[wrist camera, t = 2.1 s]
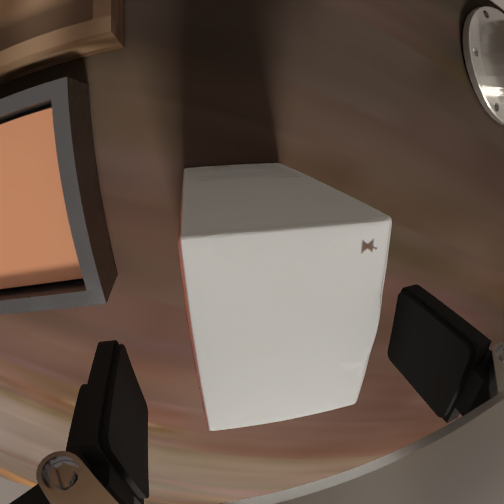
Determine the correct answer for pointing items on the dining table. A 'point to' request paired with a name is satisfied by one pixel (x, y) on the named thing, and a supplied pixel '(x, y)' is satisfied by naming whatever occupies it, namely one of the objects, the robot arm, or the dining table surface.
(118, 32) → the walnut trough
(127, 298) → the dining table surface
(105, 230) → the frame
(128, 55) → the dining table surface
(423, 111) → the dining table surface
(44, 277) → the spring pad
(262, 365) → the small box
